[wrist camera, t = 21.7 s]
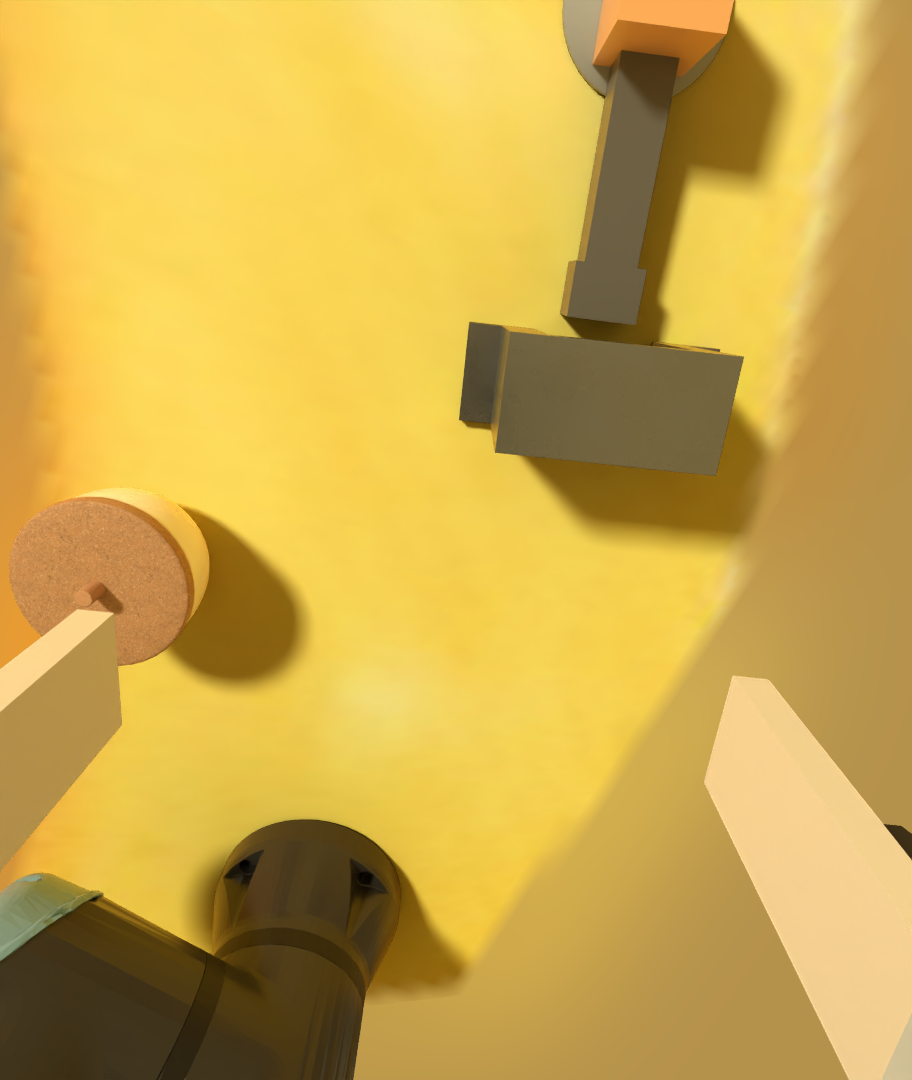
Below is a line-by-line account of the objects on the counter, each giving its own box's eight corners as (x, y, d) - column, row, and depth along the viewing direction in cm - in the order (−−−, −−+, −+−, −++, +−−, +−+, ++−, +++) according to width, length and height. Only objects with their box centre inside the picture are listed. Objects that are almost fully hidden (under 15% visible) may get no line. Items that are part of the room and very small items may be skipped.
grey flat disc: (551, 95, 38) (551, 93, 38) (577, -105, 35) (578, -110, 35) (709, 113, 38) (711, 111, 38) (748, -85, 35) (751, -89, 35)
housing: (459, 418, 44) (456, 448, 35) (469, 321, 42) (469, 326, 33) (694, 443, 44) (754, 480, 35) (715, 348, 42) (784, 361, 33)
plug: (552, 312, 42) (566, 319, 35) (610, -49, 35) (641, -122, 29) (632, 322, 42) (661, 331, 35) (705, -36, 35) (757, -106, 29)
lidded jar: (100, 443, 45) (10, 477, 36) (252, 508, 46) (201, 556, 38) (62, 578, 48) (-29, 639, 40) (205, 635, 50) (148, 707, 41)
